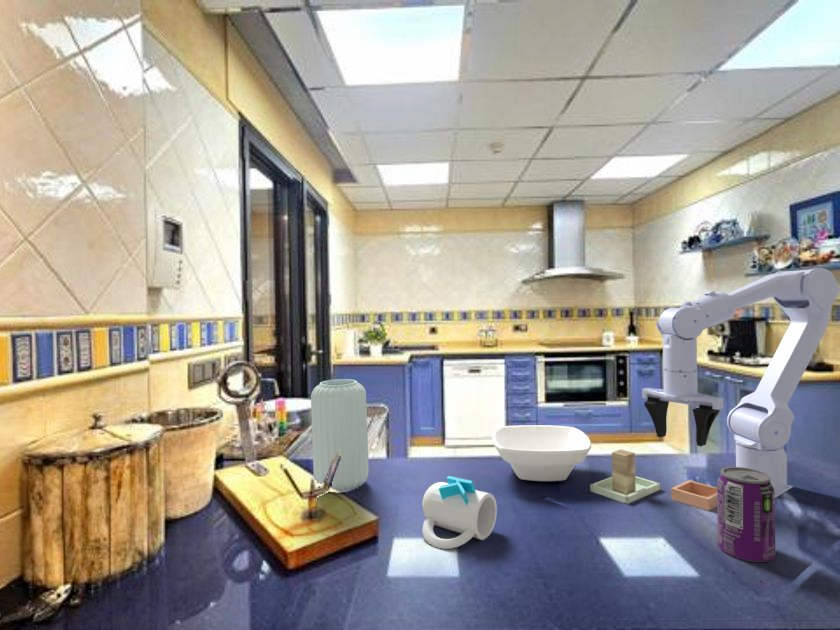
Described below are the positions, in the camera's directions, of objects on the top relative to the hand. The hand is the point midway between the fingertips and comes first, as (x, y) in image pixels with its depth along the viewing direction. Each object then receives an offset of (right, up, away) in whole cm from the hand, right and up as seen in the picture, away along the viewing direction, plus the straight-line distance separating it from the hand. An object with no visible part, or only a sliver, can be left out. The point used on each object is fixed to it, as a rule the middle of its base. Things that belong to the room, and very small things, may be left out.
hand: (680, 440), depth 95 cm
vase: (-67, -12, +10) cm, 69 cm away
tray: (-10, -11, +1) cm, 15 cm away
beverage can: (-2, -11, -22) cm, 25 cm away
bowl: (-24, -11, +13) cm, 29 cm away
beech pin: (-10, -10, +1) cm, 15 cm away
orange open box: (+1, -11, -4) cm, 11 cm away
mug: (-45, -13, -13) cm, 49 cm away
